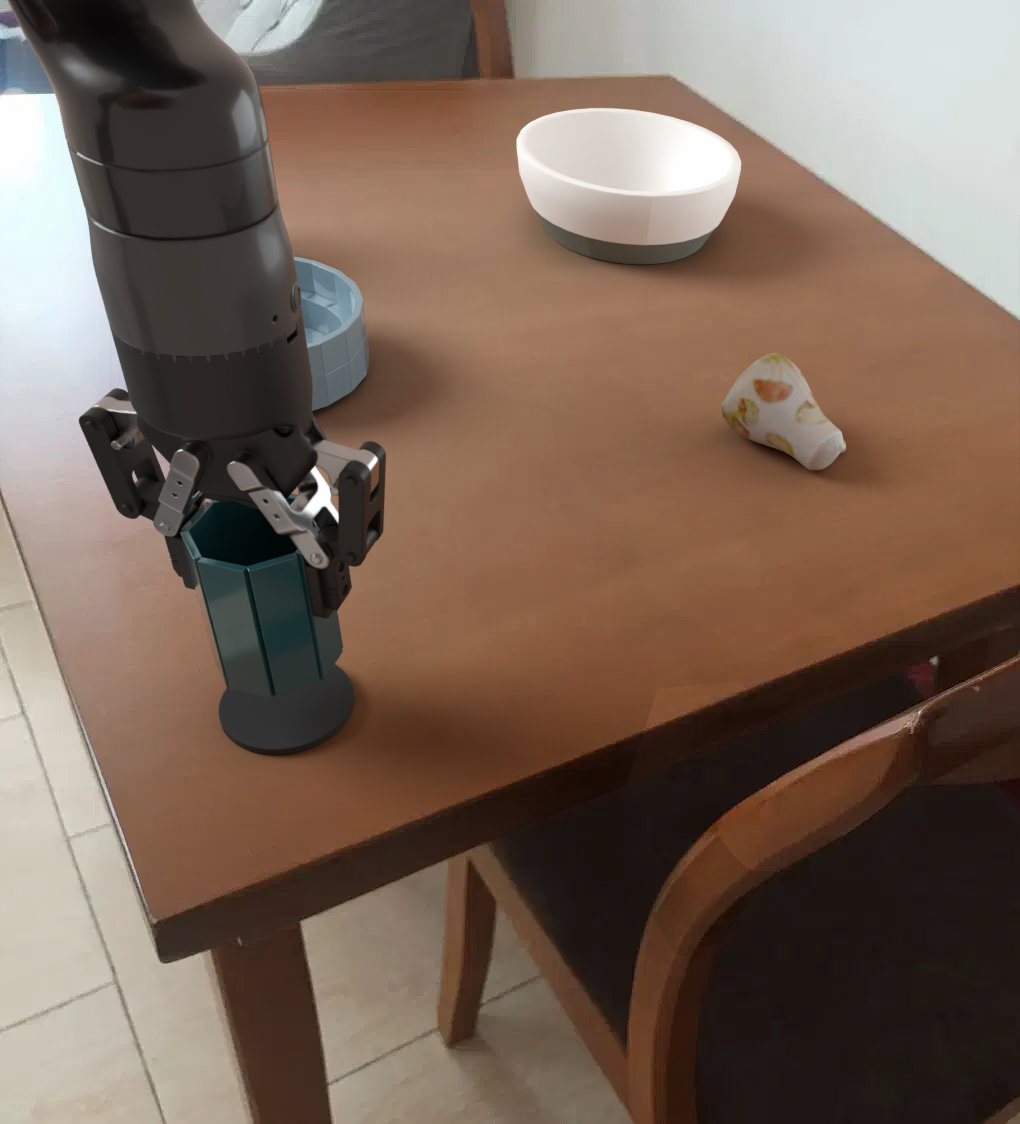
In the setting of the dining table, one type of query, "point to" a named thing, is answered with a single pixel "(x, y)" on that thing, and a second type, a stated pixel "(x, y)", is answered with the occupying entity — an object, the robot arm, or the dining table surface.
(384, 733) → the dining table surface
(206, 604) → the teal cup
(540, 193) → the bowl
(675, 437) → the dining table surface
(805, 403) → the white pear shape
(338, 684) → the coaster
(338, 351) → the glazed bowl
